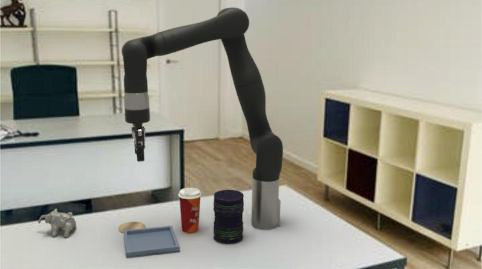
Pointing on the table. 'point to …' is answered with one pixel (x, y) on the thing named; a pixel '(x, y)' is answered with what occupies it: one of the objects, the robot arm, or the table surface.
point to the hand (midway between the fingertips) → (139, 157)
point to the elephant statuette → (60, 222)
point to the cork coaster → (131, 226)
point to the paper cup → (189, 209)
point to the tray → (150, 241)
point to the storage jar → (228, 216)
